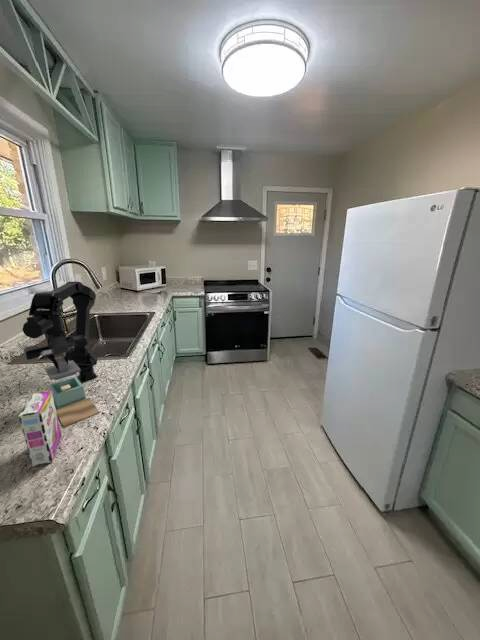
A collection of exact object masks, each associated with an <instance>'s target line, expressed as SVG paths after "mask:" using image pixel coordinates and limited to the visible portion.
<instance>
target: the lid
mask: <svg viewBox="0 0 480 640" xmlns="http://www.w3.org/2000/svg"><path fill="white" fill-rule="evenodd" d="M55 359H56V362H57V364H58V369H57V368H56V367H55V365H54V364H53V365H50V366H46V367H44V368H43V369H44V371H45V373H46V375H47V376H48V378H49V379H50V381H58V380H61V379H62V380H63V379H64V378H65V379H66V378H68V377H71V376H72V377H73V376H75V375H77V373H79V372H80V371H81V369H80V368H79V367H78V366H77V364H76V363H75V362H74V361H73V360H72V361H69V360H68V365H67V362H66V361H65V359H64V356H63V355H62V356H58V357H57V356H56V357H55Z"/></svg>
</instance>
